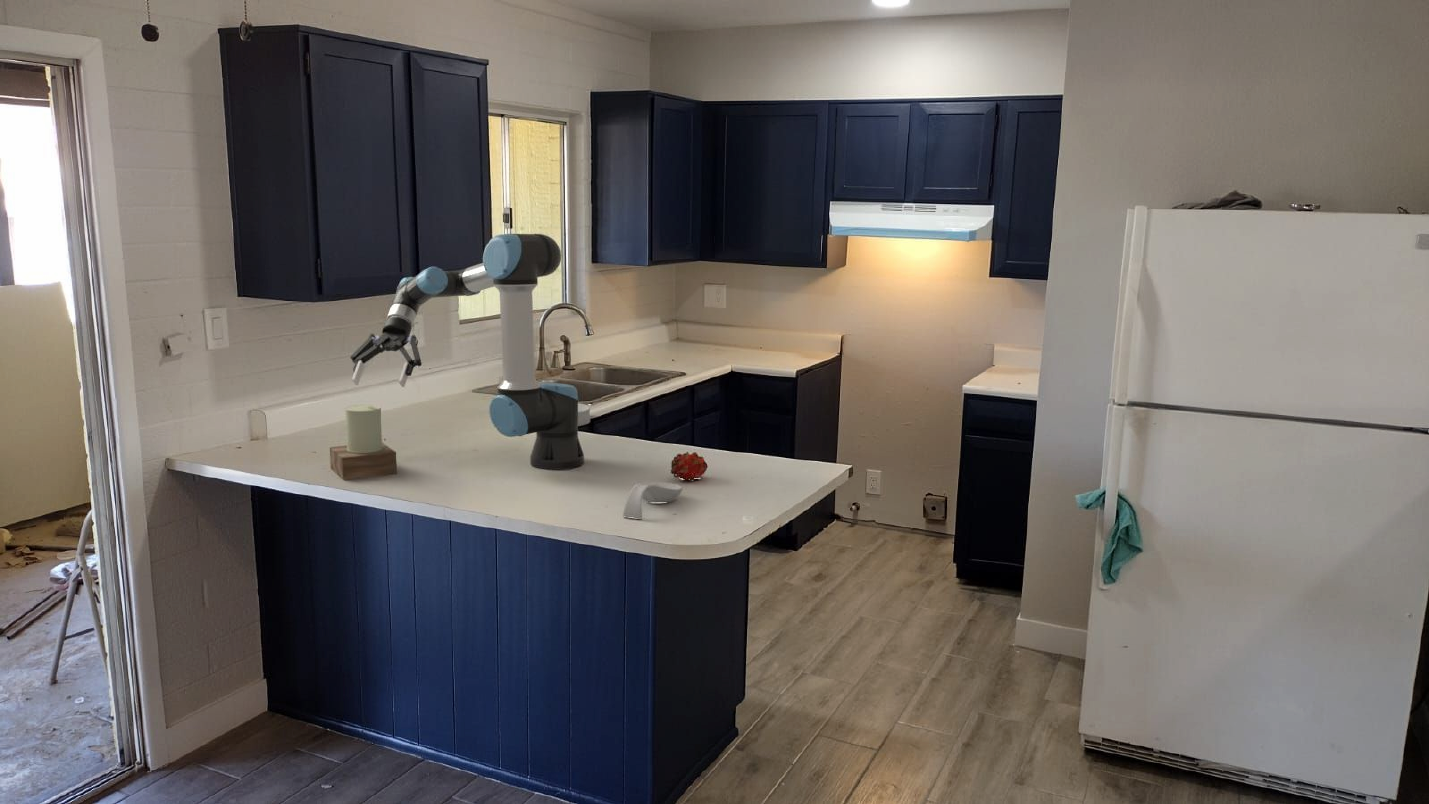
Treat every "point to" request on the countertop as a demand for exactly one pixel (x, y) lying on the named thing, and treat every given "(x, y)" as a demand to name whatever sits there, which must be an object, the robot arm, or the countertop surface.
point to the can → (364, 429)
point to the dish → (583, 414)
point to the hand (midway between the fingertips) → (378, 383)
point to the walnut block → (362, 463)
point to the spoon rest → (649, 496)
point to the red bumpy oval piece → (688, 466)
